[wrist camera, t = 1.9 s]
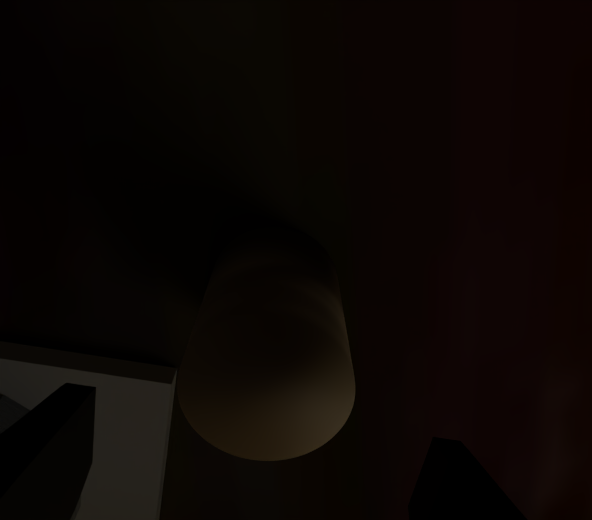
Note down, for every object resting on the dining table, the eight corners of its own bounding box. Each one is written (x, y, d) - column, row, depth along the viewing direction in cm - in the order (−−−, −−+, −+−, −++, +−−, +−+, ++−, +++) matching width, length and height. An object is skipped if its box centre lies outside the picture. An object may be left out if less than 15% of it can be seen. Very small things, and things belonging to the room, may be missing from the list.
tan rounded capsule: (350, 238, 18) (374, 330, 13) (323, 348, 20) (334, 471, 14) (220, 215, 18) (187, 299, 12) (204, 329, 20) (169, 447, 14)
